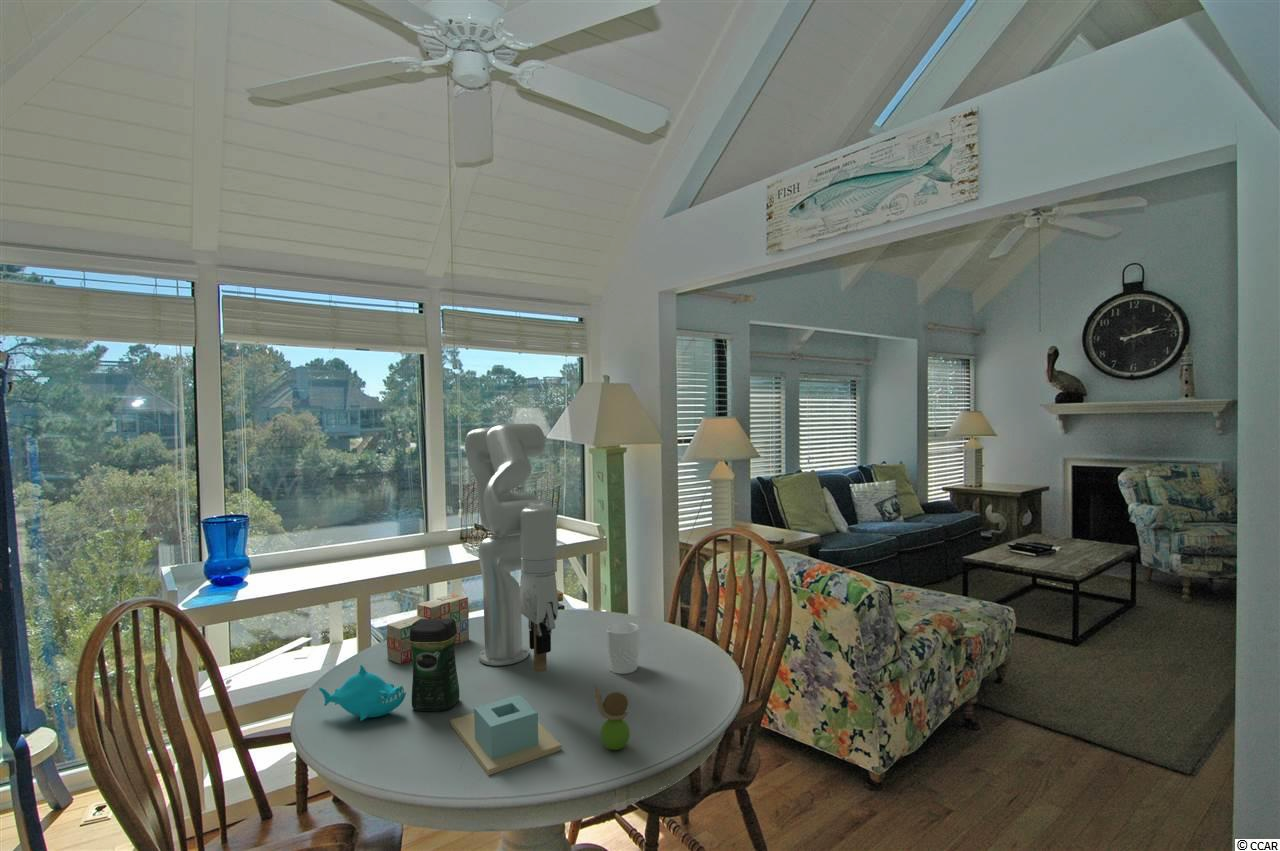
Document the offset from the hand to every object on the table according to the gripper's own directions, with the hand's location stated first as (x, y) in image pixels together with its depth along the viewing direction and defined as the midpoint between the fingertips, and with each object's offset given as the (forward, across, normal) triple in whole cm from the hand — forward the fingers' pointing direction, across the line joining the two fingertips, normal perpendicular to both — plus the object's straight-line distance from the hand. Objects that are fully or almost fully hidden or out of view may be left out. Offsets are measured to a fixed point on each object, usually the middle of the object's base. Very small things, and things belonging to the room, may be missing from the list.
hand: (540, 649), depth 132 cm
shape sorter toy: (+12, +7, -11) cm, 18 cm away
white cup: (+13, -6, +25) cm, 29 cm away
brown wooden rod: (+4, 0, 0) cm, 4 cm away
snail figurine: (+12, +24, +4) cm, 26 cm away
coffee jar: (+13, -14, -18) cm, 27 cm away
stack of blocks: (+15, -49, -10) cm, 52 cm away
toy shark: (+13, -18, -32) cm, 39 cm away
